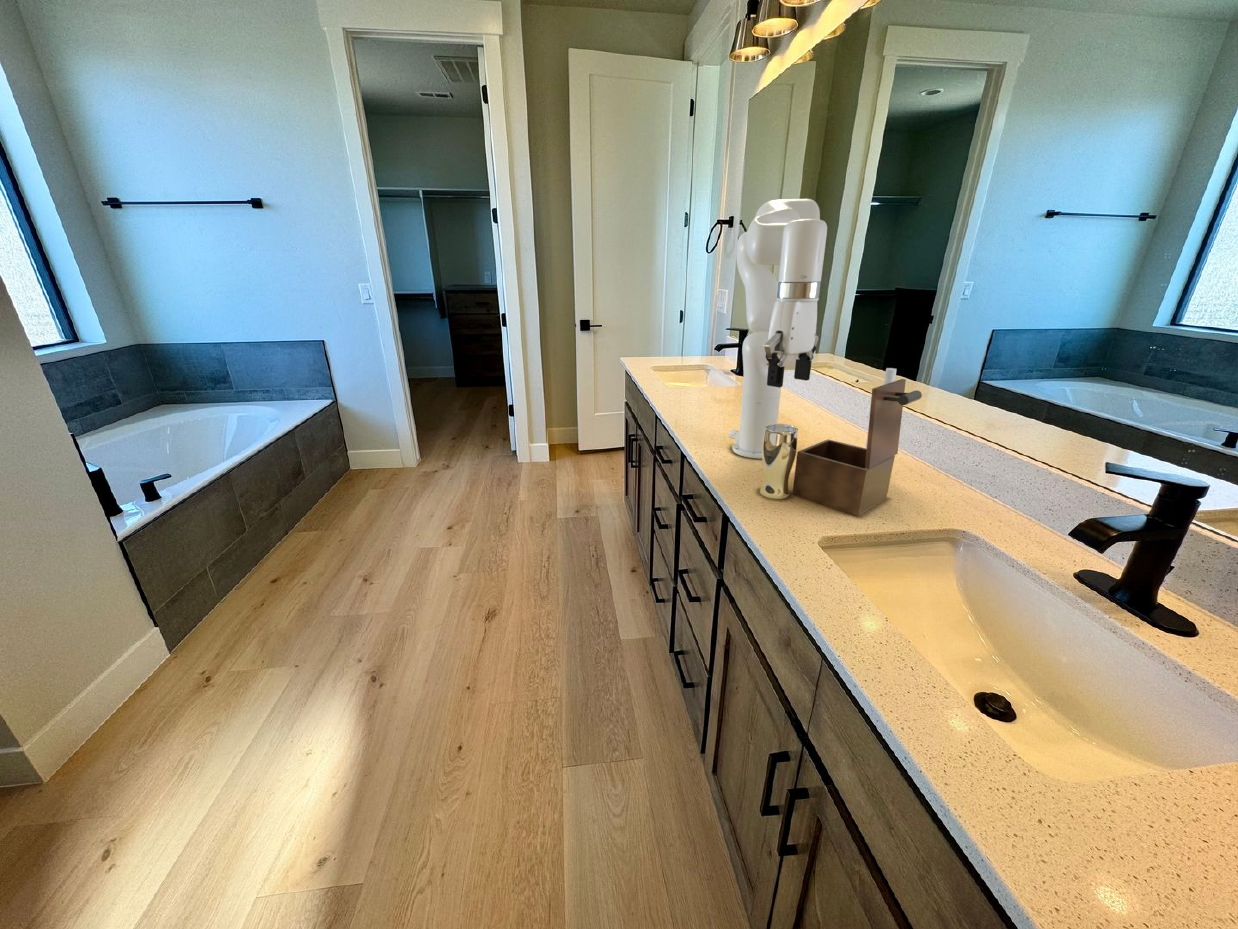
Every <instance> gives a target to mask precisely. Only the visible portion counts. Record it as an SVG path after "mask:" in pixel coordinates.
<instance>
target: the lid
mask: <svg viewBox="0 0 1238 929" xmlns="http://www.w3.org/2000/svg"><path fill="white" fill-rule="evenodd" d="M906 381H907V380H906V379H905V378H901V379H898V380H894V382H891V383H888V384H885V385H884V384H882V385H879V386H875V387H873V388H872V389H871V397H870V398H871V400H870V409H869V419H868V429H867V435H868V440H867V439H866V442H867V451H866V462H865V468H867V469H870V468H872V467H873V466H875V465H877V464H879V463H881V462H883V461H885V460H887V459H888V458H890V457H892V456H894V455H895V456H896V455H898V454H899V444H900V443H899V442H900V435H901V425H902V416H903V409H904V406H907V405H909V404H912V403H914V402H916V401H918V400H921V398H922V397H923V393H922V392H921V391H920V390H917V389H916V390H913V391H910V392H905V390H906V389H905V388H906Z"/></svg>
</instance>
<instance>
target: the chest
mask: <svg viewBox="0 0 1238 929" xmlns="http://www.w3.org/2000/svg"><path fill="white" fill-rule="evenodd" d="M866 451H867V449H866V447H861V446H857V445H854V444H849V443H844V442H842V441H837V440H832V439H828V438H827V439H825V440H822V441H820V442H817V443H815V444H813V445H810V446H808V447H806V448H803V449H801V450H799V451H796V458H795V460H796V461H795V468H794V475H793V476H794V478H793V485H792V493H791V494H792V495H794V496H798V497H801V498H804V499H807V500H810V501H813V502H815V503H818V504H820V505H824V506H827V507H829V508H832V509H835V510H838V511H841V512H844V513H847V514H850V515H853V516H855V517H860V516H861V515H863V514H864V513H866V512H868V511H869V510H871V509H872V508H874V507H876V506H877V505H879V504H880V503H882V502H883V501H884V500H886V499H887V497H888V493H889V492H888V491H889V488H890V482H891V479H892V478H891V477H892V473H893V467H894V463H895V457H896V455H894V456H892V457H890V458H888V459H887V460H885V461H883V462H881V463H879V464H877V465H875V466H873V467H872V468H870V469H867V468H865V462H866Z"/></svg>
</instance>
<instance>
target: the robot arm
mask: <svg viewBox="0 0 1238 929" xmlns="http://www.w3.org/2000/svg"><path fill="white" fill-rule="evenodd" d="M820 210H821V209H820V207H819V205H818V203H817V201H815V200H813V199H812V198H790V199H789V198H787V199H786V198H785V199H784V198H783V199H781V198H780V199H772V200H769V201H766V202H765V203H762V205H761V206H760V207H759V208H758V210H757V211H756V214H755V216H754V218H753V219H752V220H751V222H750V224H749V226H748V228H747V231H745V232H742V234H741V235H740V236H739V237H738V239H737V242H736V248H735V258H736V259H735V260H736V266H737V267H736V268H737V270H738V274H739V276H740V280H741V282H742V284H743V287H744V290H745V308H746V309H745V314H746V324H747V326H748V329H749V330H750V331H751V333H749V334H748V335H746V337H745V338H744V340H743V342H742V348H741V350H742V351H741V354H742V367H743V368H742V369H743V376H742V377H743V379H742V380H743V382H742V396H741V409H740V419H739V420H740V421H739V430H737V429H730V433H728V438H729V439H732V440H735V441H734V443H733V444H732V451H733V453H735V454H736V455H738V456H741V457H745V458H749V459H758V460H762V445H763V438H764V432H765V426H767V425H769V424H778V420H779V412H780V403H781V393H782V389H781V388H782V387H783V386H784V377H785V371H794V372H793V374H794V375H793V379H794V380H799V381H810V378H811V372H812V370H811V369H812V365H813V364H814V361H815V358H816V350H817V344H818V343H819V342H818V341H819V338H820V337H819V336H818V334H817V323H818V301H819V300H820V292H821V285H822V277H823V276H822V275H823V269H824V268H823V267H824V260H825V253H826V252H825V251H826V245H827V244H826V243H827V235H828V225H827V223H826V221H824V220H822V219H821V212H820ZM766 266H779V272H778V279H777V278H776V276H775V275H774V274H773V272H772V271H771V270H770V269H768V268H767V267H766Z"/></svg>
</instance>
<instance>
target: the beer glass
mask: <svg viewBox="0 0 1238 929" xmlns="http://www.w3.org/2000/svg"><path fill="white" fill-rule="evenodd" d="M798 433H799V428H798V427H797V426H795V425H791V424H787V423H777V424H769V425H767V426H765V432H764V438H763V445H762V459H761V460H762V470H763V479H762V484H761V485H760V486H761V487H760V490H759V493H760V494H761V495H762V496H763V497H766V498H768V499H772V500H782V499H786V498H788V497H789V496H790V486H789V484H790V482H789V481H790V476H791V472H792V469H793V466H794V462H795V460H796V457H797V452H798V451H797V450H798V437H799V435H798Z"/></svg>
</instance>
